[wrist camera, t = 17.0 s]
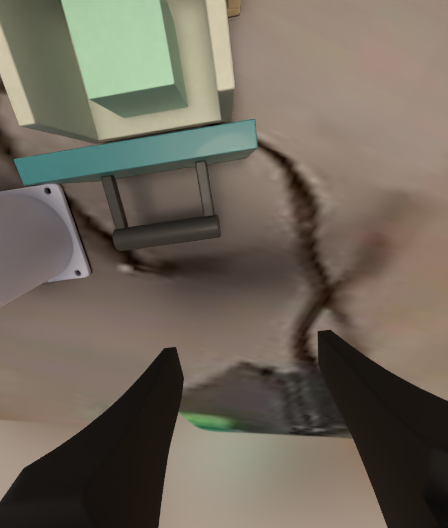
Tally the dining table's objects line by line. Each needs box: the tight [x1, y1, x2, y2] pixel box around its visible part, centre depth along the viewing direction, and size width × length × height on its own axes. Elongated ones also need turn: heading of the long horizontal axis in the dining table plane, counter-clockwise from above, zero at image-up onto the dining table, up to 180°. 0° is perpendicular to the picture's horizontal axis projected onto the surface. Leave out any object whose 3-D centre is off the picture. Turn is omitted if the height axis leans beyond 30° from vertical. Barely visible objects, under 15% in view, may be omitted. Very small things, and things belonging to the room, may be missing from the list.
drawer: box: [0, 0, 258, 251], centre depth 14 cm, size 18×11×7 cm, turn 8°
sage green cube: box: [61, 0, 188, 118], centre depth 14 cm, size 4×4×4 cm
